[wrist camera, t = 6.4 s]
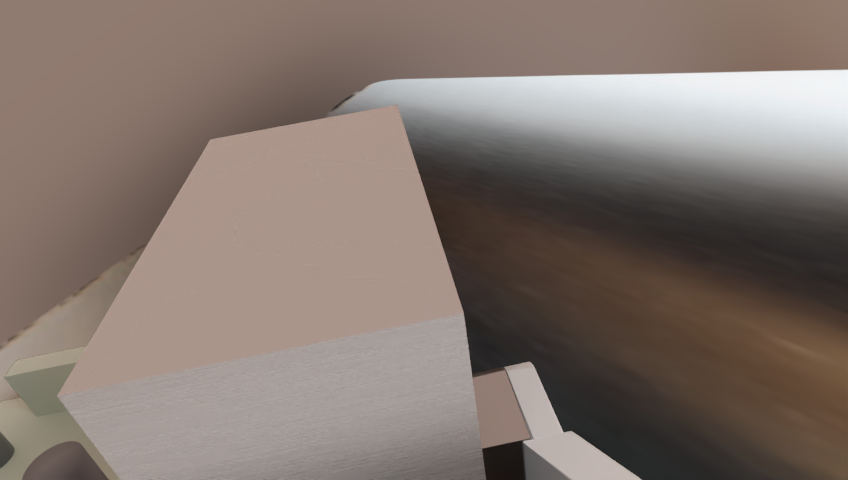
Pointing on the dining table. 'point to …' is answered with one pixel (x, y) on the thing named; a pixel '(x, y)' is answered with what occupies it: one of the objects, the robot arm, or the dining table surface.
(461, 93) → the dining table surface
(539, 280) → the dining table surface
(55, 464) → the peg board
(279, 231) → the block
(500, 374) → the robot arm
